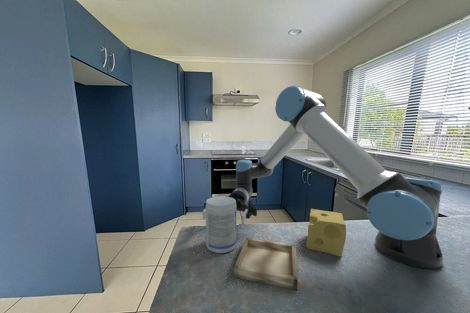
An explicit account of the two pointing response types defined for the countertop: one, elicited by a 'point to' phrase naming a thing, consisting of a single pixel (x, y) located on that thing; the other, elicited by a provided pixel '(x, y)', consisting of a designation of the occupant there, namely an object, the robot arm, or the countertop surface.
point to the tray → (267, 263)
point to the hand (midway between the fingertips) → (222, 217)
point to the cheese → (326, 232)
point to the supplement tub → (221, 224)
